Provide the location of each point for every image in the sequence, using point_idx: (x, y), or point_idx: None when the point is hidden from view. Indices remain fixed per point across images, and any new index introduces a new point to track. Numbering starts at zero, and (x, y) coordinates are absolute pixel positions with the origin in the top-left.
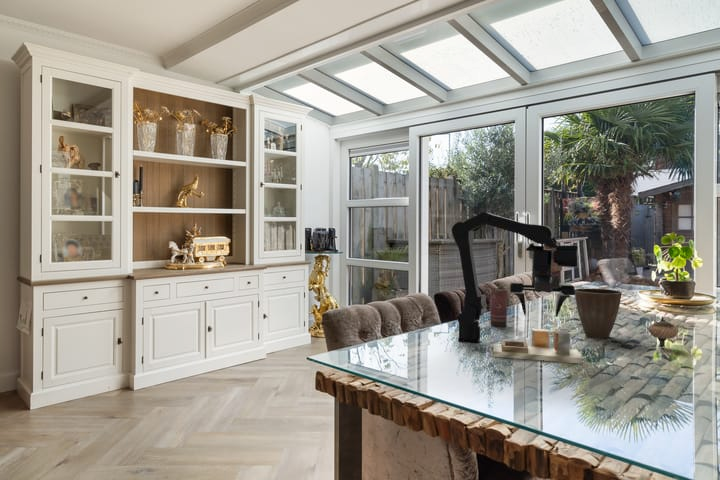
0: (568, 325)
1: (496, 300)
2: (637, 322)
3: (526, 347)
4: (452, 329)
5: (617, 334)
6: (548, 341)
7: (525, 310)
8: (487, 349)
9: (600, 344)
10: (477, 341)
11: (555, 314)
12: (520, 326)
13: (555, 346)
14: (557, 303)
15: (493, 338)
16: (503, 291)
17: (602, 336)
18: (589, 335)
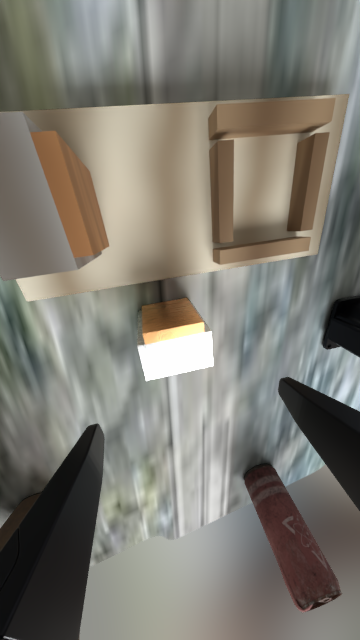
0: (125, 535)
1: (307, 544)
2: None
3: (225, 124)
4: (356, 399)
5: None
6: (139, 323)
7: (306, 397)
8: (324, 230)
9: (12, 449)
10: (339, 301)
11: (102, 448)
12: (216, 486)
13: (83, 164)
14: (51, 579)
15: (283, 369)
16: (310, 596)
17: (25, 502)
18: None
